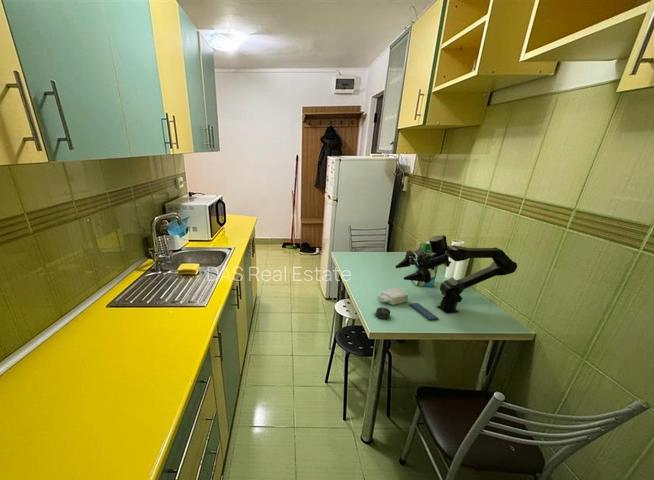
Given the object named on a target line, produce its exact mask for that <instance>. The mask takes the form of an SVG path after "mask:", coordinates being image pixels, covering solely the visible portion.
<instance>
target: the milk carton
mask: <svg viewBox="0 0 654 480" xmlns="http://www.w3.org/2000/svg"><path fill="white" fill-rule="evenodd" d="M419 248H421V249H422V250H423V251H424V252H425V253H426V254H429V255H433V254H435V253H434V252H432V251H431V248H430V243H429V240H426V243H425V242H419V247H418V249H419ZM417 257H418V256H417V255H416V258H417ZM438 269H439V266H436V267H434V270H432V269H428V270H429V271H430V273H431V281H430V282H428V283H424V282H421V281H414V280H412V282H413V283H414V285H415V286H416V287H428V288H429V287H430V288H433V287H434V285H435V282H436V278H437V274H438ZM417 270H418V269H417V268H416V266H415V265H414V270H413V273H415V272H417Z"/></svg>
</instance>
